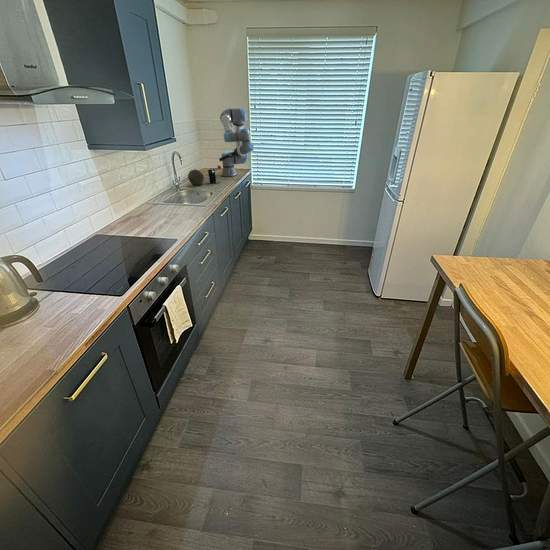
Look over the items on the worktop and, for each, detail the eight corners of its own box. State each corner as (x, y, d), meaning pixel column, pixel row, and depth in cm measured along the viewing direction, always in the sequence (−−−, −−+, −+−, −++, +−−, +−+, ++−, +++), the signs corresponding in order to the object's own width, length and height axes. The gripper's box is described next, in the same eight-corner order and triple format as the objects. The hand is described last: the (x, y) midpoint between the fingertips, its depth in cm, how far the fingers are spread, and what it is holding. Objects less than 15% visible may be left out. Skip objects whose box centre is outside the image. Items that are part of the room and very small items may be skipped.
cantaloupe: (189, 184, 284) (186, 168, 276) (204, 183, 286) (201, 167, 278) (189, 188, 272) (186, 172, 264) (205, 187, 275) (202, 170, 267)
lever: (222, 167, 275) (220, 164, 274) (220, 168, 272) (219, 164, 271) (212, 173, 281) (210, 169, 280) (210, 174, 279) (208, 170, 277)
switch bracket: (220, 182, 287) (218, 168, 280) (216, 184, 280) (214, 170, 273) (210, 182, 290) (208, 168, 283) (206, 184, 283) (203, 170, 276)
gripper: (232, 159, 252) (217, 165, 266) (250, 152, 268) (235, 158, 282) (228, 150, 249) (213, 157, 263) (247, 144, 265) (232, 151, 279)
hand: (224, 158), depth 273 cm, fingers open, 13 cm apart
